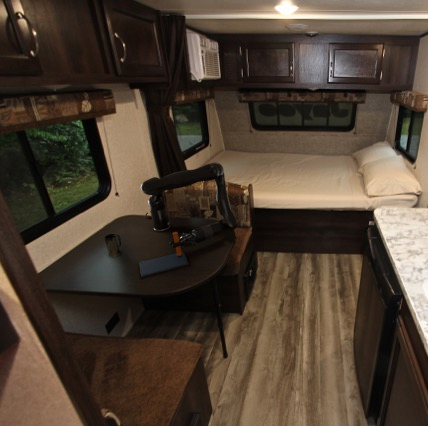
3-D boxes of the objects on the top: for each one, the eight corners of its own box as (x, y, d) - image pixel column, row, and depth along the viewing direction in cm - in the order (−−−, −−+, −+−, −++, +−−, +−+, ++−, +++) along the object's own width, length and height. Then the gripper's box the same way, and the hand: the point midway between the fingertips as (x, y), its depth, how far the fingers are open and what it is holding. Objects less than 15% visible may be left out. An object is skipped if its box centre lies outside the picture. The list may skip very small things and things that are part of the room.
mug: (106, 256, 157) (100, 236, 152) (113, 250, 162) (107, 231, 157) (120, 257, 156) (114, 237, 151) (127, 251, 161) (121, 232, 156)
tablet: (139, 263, 151) (139, 261, 151) (184, 252, 161) (183, 250, 161) (141, 278, 140) (140, 276, 140) (188, 265, 150) (188, 263, 150)
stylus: (177, 255, 154) (172, 232, 148) (181, 254, 155) (177, 231, 149) (177, 257, 152) (172, 234, 146) (182, 256, 153) (178, 233, 147)
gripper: (195, 223, 162) (164, 234, 151) (208, 232, 153) (175, 244, 142) (197, 235, 165) (167, 246, 154) (210, 244, 156) (178, 257, 145)
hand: (171, 245), depth 148 cm, fingers closed on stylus, 2 cm apart
